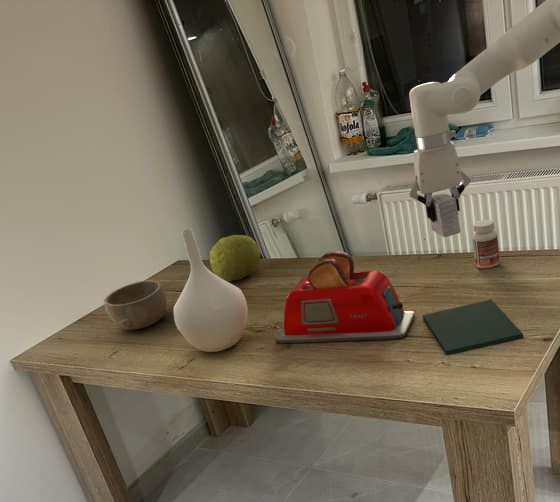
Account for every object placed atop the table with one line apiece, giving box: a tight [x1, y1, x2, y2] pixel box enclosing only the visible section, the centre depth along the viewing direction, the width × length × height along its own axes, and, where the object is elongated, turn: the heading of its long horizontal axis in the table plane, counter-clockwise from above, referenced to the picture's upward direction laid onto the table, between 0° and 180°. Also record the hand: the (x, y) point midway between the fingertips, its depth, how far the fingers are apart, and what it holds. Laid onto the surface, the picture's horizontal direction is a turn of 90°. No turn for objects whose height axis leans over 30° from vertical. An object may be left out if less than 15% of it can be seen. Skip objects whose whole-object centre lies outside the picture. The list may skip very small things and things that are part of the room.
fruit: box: [209, 234, 261, 283], centre depth 213 cm, size 16×14×15 cm
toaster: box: [274, 251, 416, 344], centre depth 158 cm, size 32×13×19 cm, turn 68°
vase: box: [173, 228, 249, 353], centre depth 166 cm, size 18×18×30 cm
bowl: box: [103, 280, 167, 331], centre depth 196 cm, size 17×18×10 cm
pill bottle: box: [472, 219, 501, 269], centre depth 176 cm, size 6×6×11 cm
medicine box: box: [430, 192, 461, 238], centre depth 164 cm, size 8×4×9 cm, turn 9°
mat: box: [422, 299, 524, 356], centre depth 148 cm, size 16×20×1 cm
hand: (443, 216), depth 164 cm, fingers closed on medicine box, 4 cm apart
